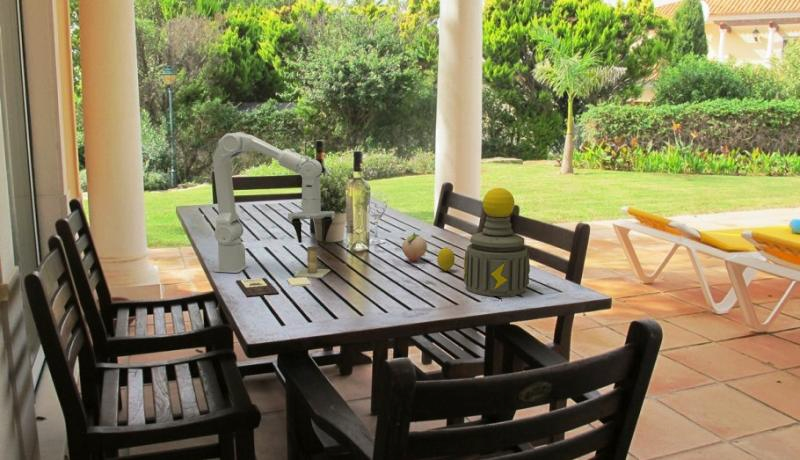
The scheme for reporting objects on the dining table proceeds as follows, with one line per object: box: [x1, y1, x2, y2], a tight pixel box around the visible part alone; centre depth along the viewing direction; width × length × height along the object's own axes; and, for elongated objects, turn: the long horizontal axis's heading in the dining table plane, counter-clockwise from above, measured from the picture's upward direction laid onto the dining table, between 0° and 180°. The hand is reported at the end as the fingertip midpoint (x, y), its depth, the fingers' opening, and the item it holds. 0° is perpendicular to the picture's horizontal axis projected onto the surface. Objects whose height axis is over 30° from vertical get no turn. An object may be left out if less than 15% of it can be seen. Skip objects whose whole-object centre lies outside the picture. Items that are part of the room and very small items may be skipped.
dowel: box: [306, 246, 318, 273], centre depth 232 cm, size 3×3×8 cm
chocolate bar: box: [235, 277, 280, 298], centre depth 215 cm, size 9×1×18 cm
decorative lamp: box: [463, 187, 531, 298], centre depth 214 cm, size 19×19×30 cm
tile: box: [286, 277, 313, 288], centre depth 222 cm, size 1×6×8 cm
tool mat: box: [293, 267, 331, 279], centre depth 233 cm, size 10×9×1 cm
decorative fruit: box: [401, 232, 428, 262], centre depth 251 cm, size 9×8×10 cm
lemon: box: [436, 246, 455, 272], centre depth 237 cm, size 6×6×8 cm
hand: (311, 241), depth 231 cm, fingers open, 7 cm apart
